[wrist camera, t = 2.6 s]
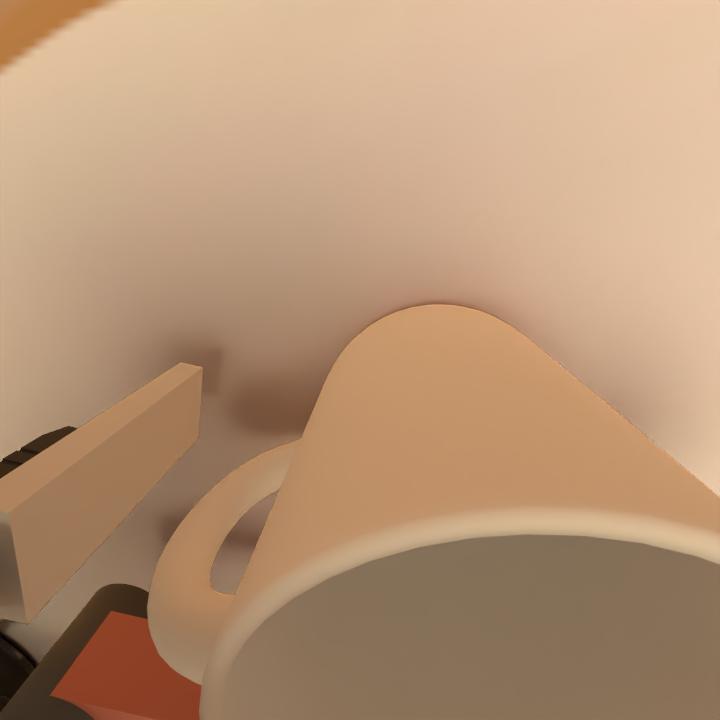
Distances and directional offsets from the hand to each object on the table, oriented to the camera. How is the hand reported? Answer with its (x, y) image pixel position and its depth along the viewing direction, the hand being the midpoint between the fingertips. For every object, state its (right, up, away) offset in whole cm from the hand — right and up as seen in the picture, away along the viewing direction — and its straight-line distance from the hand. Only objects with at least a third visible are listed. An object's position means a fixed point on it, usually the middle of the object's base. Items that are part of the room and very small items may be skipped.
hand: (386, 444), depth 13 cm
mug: (0, +1, +2) cm, 2 cm away
